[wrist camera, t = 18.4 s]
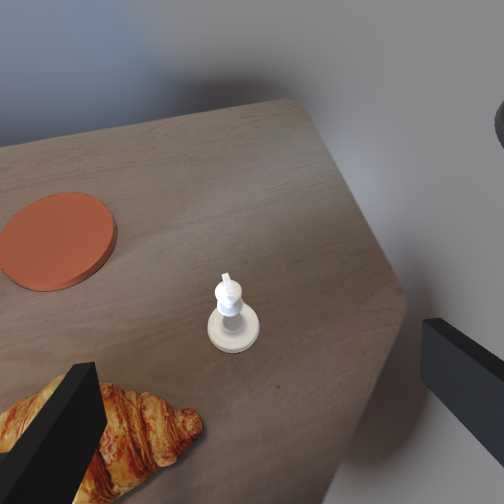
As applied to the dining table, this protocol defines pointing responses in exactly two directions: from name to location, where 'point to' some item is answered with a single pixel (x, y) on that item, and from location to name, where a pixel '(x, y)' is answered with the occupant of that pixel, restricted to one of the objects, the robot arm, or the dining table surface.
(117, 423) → the croissant
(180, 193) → the dining table surface
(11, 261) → the orange flat disc
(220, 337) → the chess piece
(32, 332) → the dining table surface
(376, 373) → the dining table surface
